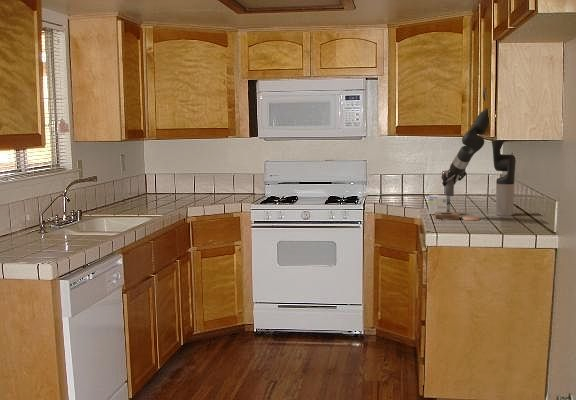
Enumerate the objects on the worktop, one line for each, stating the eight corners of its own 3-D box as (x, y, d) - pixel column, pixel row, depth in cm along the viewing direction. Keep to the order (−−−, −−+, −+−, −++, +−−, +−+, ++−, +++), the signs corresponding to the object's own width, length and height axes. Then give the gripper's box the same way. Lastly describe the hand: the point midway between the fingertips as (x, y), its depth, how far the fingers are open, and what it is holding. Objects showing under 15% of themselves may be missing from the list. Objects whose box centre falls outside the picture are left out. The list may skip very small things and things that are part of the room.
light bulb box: (450, 214, 357) (450, 195, 355) (446, 215, 351) (447, 196, 350) (431, 213, 362) (432, 194, 361) (428, 214, 356) (428, 195, 355)
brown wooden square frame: (434, 216, 347) (434, 212, 347) (457, 216, 345) (457, 212, 345) (435, 219, 336) (435, 215, 335) (459, 220, 333) (459, 215, 333)
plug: (444, 195, 342) (444, 170, 340) (454, 195, 341) (454, 170, 339) (444, 196, 337) (445, 171, 335) (454, 196, 336) (455, 171, 334)
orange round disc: (460, 218, 340) (460, 216, 340) (478, 218, 339) (478, 216, 339) (462, 220, 332) (462, 218, 332) (480, 220, 330) (480, 219, 330)
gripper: (469, 157, 331) (456, 179, 344) (445, 158, 327) (433, 180, 340) (475, 168, 327) (462, 189, 340) (450, 169, 323) (438, 190, 336)
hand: (447, 184), depth 340 cm, fingers closed on plug, 4 cm apart
